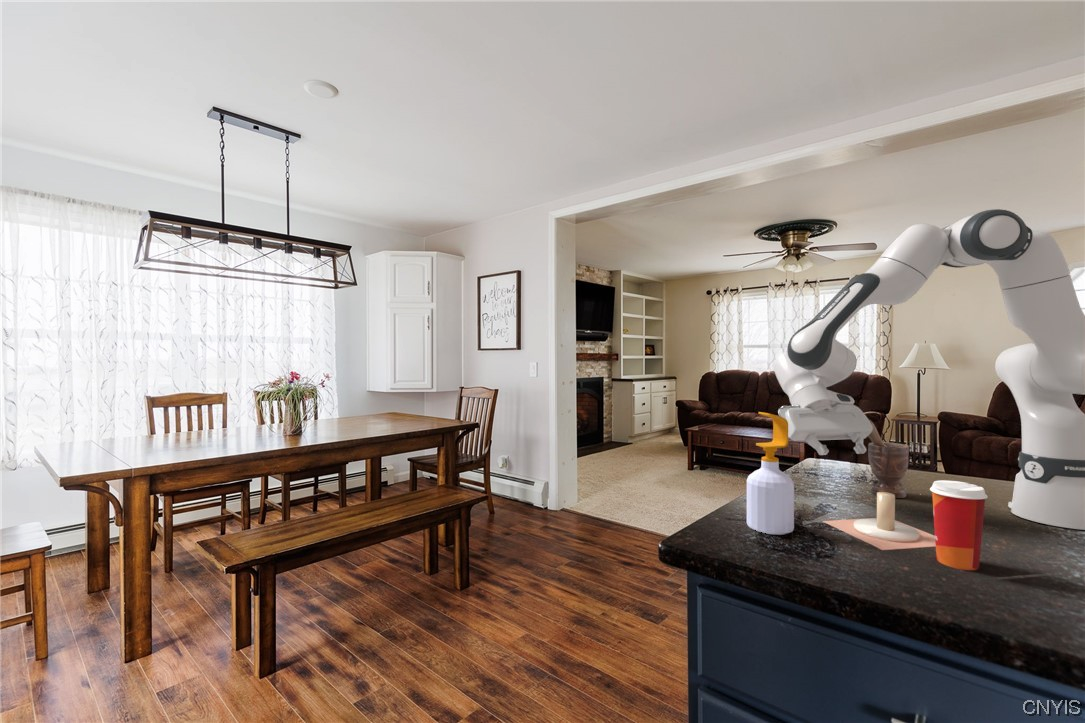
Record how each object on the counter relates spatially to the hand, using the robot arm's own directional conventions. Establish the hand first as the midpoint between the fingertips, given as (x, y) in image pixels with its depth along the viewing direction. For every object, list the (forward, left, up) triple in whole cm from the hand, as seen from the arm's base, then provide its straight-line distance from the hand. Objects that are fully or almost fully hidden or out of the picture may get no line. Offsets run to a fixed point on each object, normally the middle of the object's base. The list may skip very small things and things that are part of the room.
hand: (843, 453), depth 112 cm
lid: (0, +12, -14) cm, 18 cm away
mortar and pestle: (-22, -12, -14) cm, 29 cm away
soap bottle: (+21, +5, -14) cm, 26 cm away
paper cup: (0, +27, -14) cm, 30 cm away
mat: (0, +12, -14) cm, 18 cm away
